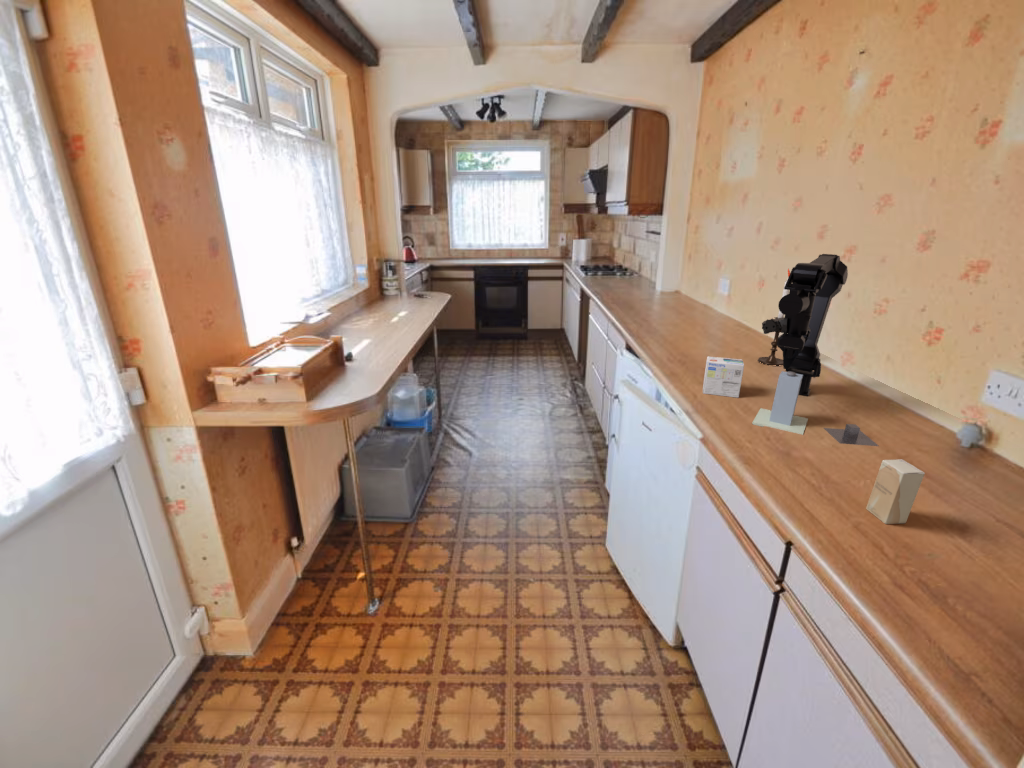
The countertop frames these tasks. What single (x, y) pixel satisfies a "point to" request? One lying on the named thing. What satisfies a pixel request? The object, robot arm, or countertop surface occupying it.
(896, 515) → the box
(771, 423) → the mat
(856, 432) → the grey square base plate
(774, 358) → the candlestick
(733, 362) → the light bulb box
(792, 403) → the gray pillar with knob
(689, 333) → the countertop surface
